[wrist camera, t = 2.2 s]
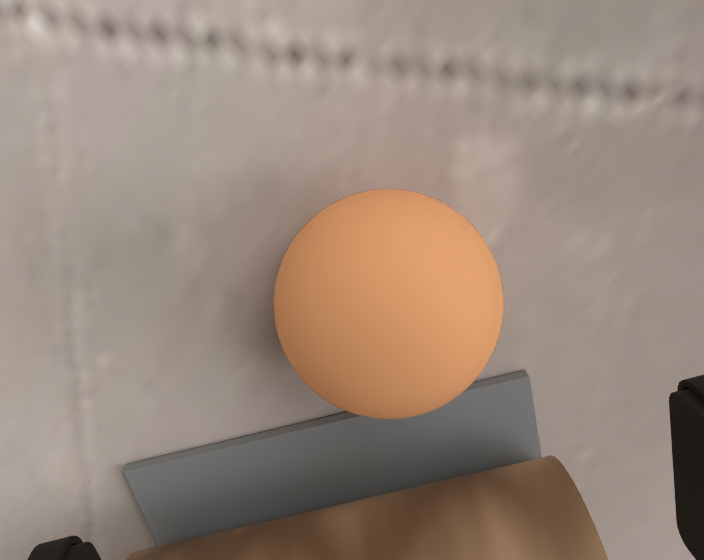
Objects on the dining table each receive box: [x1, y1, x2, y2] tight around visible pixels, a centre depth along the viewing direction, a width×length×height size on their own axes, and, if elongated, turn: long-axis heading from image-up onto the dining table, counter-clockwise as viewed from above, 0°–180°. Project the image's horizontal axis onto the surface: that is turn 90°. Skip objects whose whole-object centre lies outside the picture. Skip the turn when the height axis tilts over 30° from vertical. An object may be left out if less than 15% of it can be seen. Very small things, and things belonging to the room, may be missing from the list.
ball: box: [274, 189, 504, 419], centre depth 17 cm, size 6×6×6 cm
